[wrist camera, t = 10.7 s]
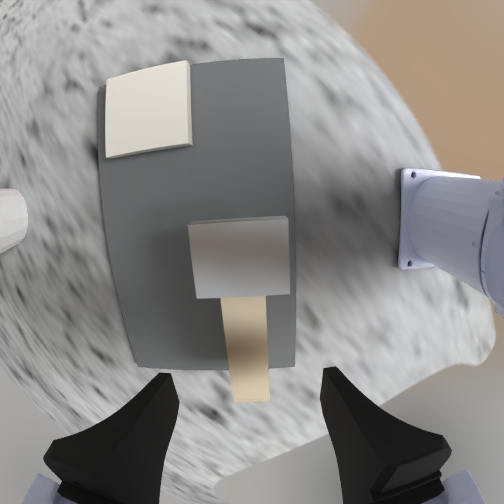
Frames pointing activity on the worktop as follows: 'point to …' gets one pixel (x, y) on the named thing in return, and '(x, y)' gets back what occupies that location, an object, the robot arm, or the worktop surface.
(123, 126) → the tile
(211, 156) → the mat
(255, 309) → the turner
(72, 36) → the worktop surface
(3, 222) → the white cup
